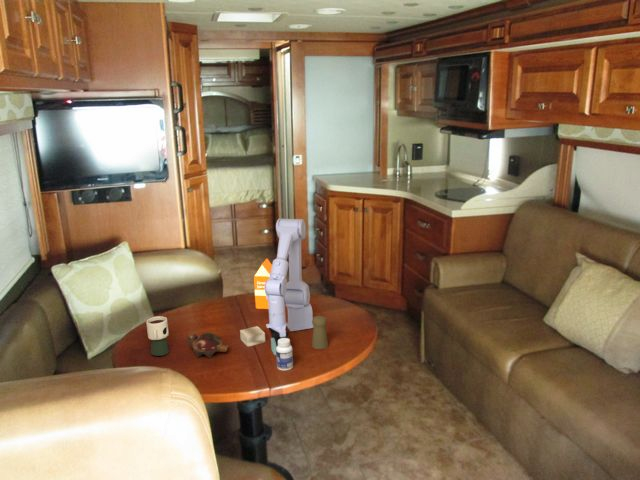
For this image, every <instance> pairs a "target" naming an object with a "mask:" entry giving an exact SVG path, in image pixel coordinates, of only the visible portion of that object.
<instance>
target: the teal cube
mask: <svg viewBox="0 0 640 480" xmlns="http://www.w3.org/2000/svg"><path fill="white" fill-rule="evenodd" d="M270 347H271V348H270V349H271V351H272V353H273V355H274V356H276V342H275V339H274V338H272V337H271V338H270Z"/></svg>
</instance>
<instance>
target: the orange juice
mask: <svg viewBox="0 0 640 480" xmlns="http://www.w3.org/2000/svg"><path fill="white" fill-rule="evenodd" d="M271 268H272V263H271V262H270V260H269V259H268V258H266V259H265V260H264V261H263V262H262V263H261V266H260V267H259V268H258V270H257V271H256V273H255V274H254V276H253V283H254V284H253V285H254V300H255V309H259V310H260V309H261V310H262V309H263V310H264V309H265V310H269V307H268V300H267V299H266V294H265V283H266V281H267V280H268V279H269V277H270V272H271Z"/></svg>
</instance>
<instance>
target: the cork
mask: <svg viewBox="0 0 640 480" xmlns="http://www.w3.org/2000/svg"><path fill="white" fill-rule="evenodd" d="M312 324H313V326H314V327H313V328H312V329H313V330H312V339H311V340H312V341H311V348H313V349H316V350H324V349H326V348H328V347H329V342H328V334H327V330H326V325H327V318H326V317H325V316H324V315H316V316H313V319H312Z"/></svg>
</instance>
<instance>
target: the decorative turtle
mask: <svg viewBox="0 0 640 480" xmlns="http://www.w3.org/2000/svg"><path fill="white" fill-rule="evenodd" d="M185 340H186V343H187V344H188V345H189V347H191V348H192V350H193V353H194V354H195V356H196V358H201V357H202V356H203V355H205V356H206V357H207V358H208V359H211V358H213V356H214V354H215V353H216V352H217V353H219V352H220V353H222V352H223V353H225V352H227V351H228V350H229V344H228V343H226V342H224V340H223V339H222V337H220V336H219V335H218V334H215V333H212V332H211V333H209V332H207V333H202V334H201V335H200V336H199V337H198V335H197V334H196V333H189V334H187V336H186V338H185Z"/></svg>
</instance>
